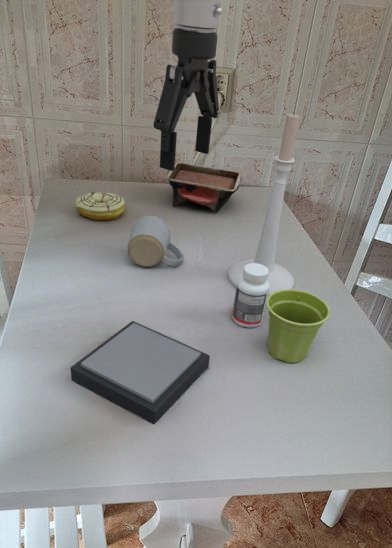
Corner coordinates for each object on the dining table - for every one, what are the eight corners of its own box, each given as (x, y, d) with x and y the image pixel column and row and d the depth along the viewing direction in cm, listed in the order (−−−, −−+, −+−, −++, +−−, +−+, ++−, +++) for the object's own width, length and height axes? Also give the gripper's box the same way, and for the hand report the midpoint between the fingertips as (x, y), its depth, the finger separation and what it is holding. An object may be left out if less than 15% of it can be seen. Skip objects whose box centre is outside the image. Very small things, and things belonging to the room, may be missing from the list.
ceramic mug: (125, 267, 93) (126, 230, 88) (132, 248, 100) (133, 212, 95) (180, 274, 93) (184, 237, 89) (183, 254, 100) (187, 219, 95)
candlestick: (232, 258, 100) (256, 98, 82) (294, 269, 99) (333, 109, 80) (223, 290, 90) (249, 115, 72) (292, 302, 89) (336, 128, 70)
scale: (69, 379, 68) (68, 363, 66) (130, 332, 78) (131, 316, 76) (154, 424, 63) (155, 408, 61) (208, 367, 72) (210, 352, 71)
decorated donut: (90, 200, 117) (89, 185, 114) (131, 209, 115) (132, 194, 112) (68, 216, 109) (67, 200, 106) (113, 226, 107) (112, 209, 104)
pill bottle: (238, 307, 86) (247, 257, 80) (267, 316, 84) (278, 266, 78) (226, 322, 82) (234, 271, 76) (256, 332, 81) (266, 281, 75)
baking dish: (223, 227, 116) (236, 187, 110) (154, 202, 117) (163, 160, 112) (235, 210, 128) (247, 173, 122) (172, 187, 129) (181, 149, 123)
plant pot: (276, 376, 72) (288, 329, 67) (246, 339, 79) (255, 293, 73) (327, 364, 76) (343, 318, 70) (295, 329, 82) (307, 285, 77)
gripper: (177, 36, 70) (168, 182, 83) (246, 29, 88) (230, 150, 101) (133, 28, 73) (132, 171, 86) (209, 23, 91) (198, 142, 104)
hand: (185, 160), depth 94 cm, fingers open, 13 cm apart
